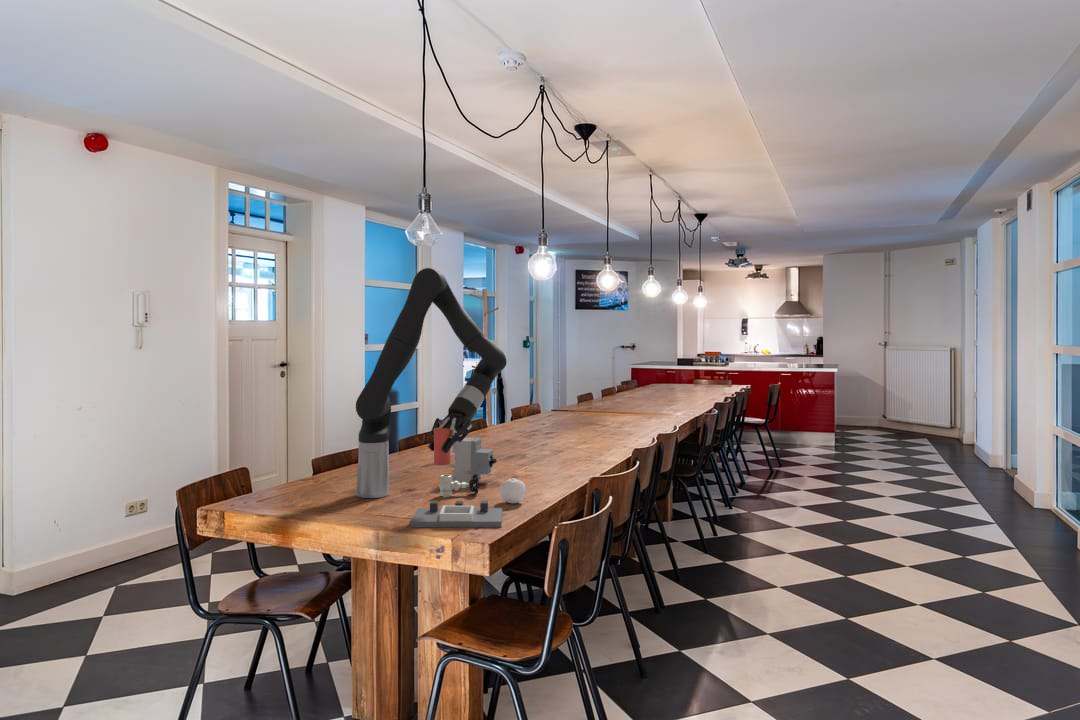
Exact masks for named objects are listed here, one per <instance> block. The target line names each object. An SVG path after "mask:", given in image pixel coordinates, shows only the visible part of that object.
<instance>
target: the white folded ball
mask: <svg viewBox="0 0 1080 720" xmlns="http://www.w3.org/2000/svg"><path fill="white" fill-rule="evenodd" d="M526 491H527V487H526V485H525V483H524V482H523V481H522V480H520V479H517V478H514V477H511V478H510V479H507V480H505V481H504V482H503V483H501V484H500V486H499V494H500V497H501V499H502V500H503V501H504V502H506V503H509V504H517V503H520V502H521V501H523V499H524V497H525V495H526Z"/></svg>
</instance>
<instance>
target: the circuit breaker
mask: <svg viewBox="0 0 1080 720" xmlns="http://www.w3.org/2000/svg"><path fill="white" fill-rule="evenodd" d="M451 449H452V452H451V453H453V454H454V469H453V470H452V473H451V475H452V482H454V481H458V482H459V483H461V482H466V483H469V482H470V480H472V479H474V478H473V476H474V474H477V478H478V483H479V482H481V481H480V480H481V479H482V476H481V475H485V476H486V475H489V474H490V473H491V472H493V471H494V465H495V463H497V462H498V461H497V458H494V449H493V448H482V438H481V437H465V438H464V439H463V440H462V441H461V442H459V441H457V442H456V443H454V444H453V445H452V447H451Z"/></svg>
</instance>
